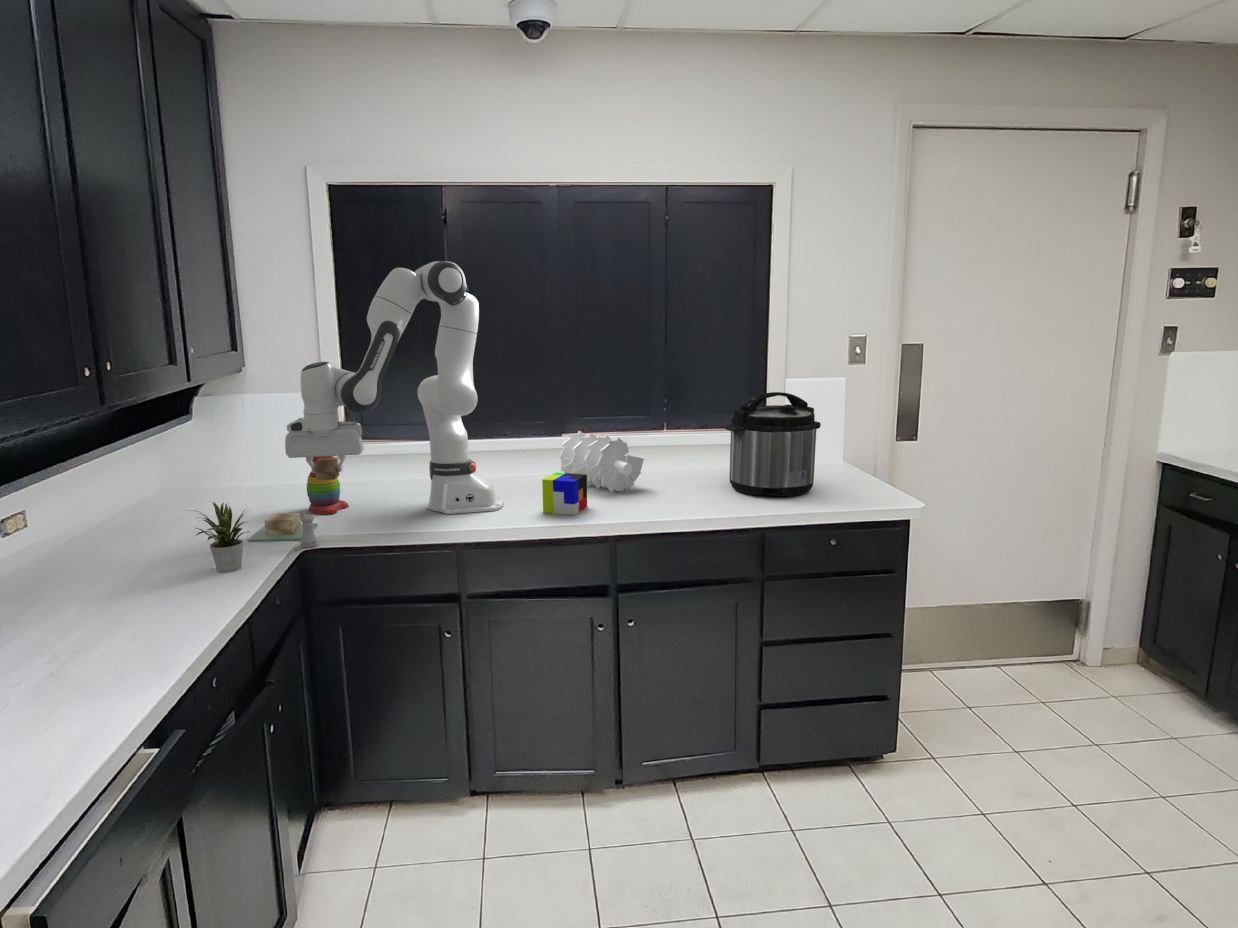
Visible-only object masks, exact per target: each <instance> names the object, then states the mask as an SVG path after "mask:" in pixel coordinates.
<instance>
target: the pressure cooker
mask: <svg viewBox="0 0 1238 928" xmlns="http://www.w3.org/2000/svg"><path fill="white" fill-rule="evenodd" d="M777 396H781V397H786V399H787V401H788V402H789V403H790V404H784V405H781V404H780V405H778V404H777V405H775V404H774V405H760V404H761V403H762V402H763V401H764V400H765V399H769V398H773V397H777ZM808 405H809V404H808V402H807V401H805V399H803V398H801V397H799V396H797V395H795V394H792V393H789V392H783V391H782V392H779V391H773V392H772V391H771V392H765V393H761V394H758V395H755V396H754V397H751V398H749V399H747V400H746V401H744V402H743V403H741V404H740V407H739V409H738V408H737V409H734V411H733V418H732V419H731V424H727V425H725V426H724V429H725V430H726V431H728V432H729V431H730V447H729V448H730V449H729V450H730V451H729V452H730V453H729V476H728V477H729V479H728V480H729V483H730V485H731V487H732V489H734V490H736V491H740V492H742V493H745V494H750V495H755V496H761V495H767V496H771V497H796V496H801V495H804V494H807V493H809V492H810V491H811V489H812V488H813V486H814V479H815V463H816V461H815V460H816V447H817V446H816V441H817V430H818V429H821V428H820V427H821V426H822V425H821V422H820V421H817V420H815V417H816V416H815V408H814V407H811V406H808Z"/></svg>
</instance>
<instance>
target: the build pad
mask: <svg viewBox="0 0 1238 928" xmlns="http://www.w3.org/2000/svg"><path fill="white" fill-rule="evenodd" d="M312 523H313V522H312ZM302 524H303V523H301V527H300V528H299V529H298V530H297V531H296V532H295V533H294V534H293V535H266V532H265V524H264V525H263V526H262V527H261V528H260V529H258V530H257V531H256V532H255V533H254V534H252V535H251V536H250V537H249V538H247V542H248V543H249V542H250V543H253V542H283V541H284V542H286V541H288V542H291V541H300V540H301V538H302V535H303V526H302ZM313 524H314V525H313V531H315V530H314V529H316V528H317V527H318V526H319V525H318V523H317V522H315V523H313Z"/></svg>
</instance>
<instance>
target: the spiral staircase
mask: <svg viewBox="0 0 1238 928" xmlns="http://www.w3.org/2000/svg"><path fill="white" fill-rule="evenodd" d="M561 445H562V450H561V452H560V454H559V457H558V458H559V459H560V460H561V462H560V463H561V464H560V465H561V466H560V472H563V473H572V474H586V475H587V488H589V487H590V486H595V487H596V489H600V487H602V488H604V489H608V490H609V491H610V492H611V493H614V491H618V492H624V491H625V490H627V489H628V488H630V487H632V486H634V485H635V482H636V480H637V479H639V476H640V475H641V473H642V472H641V471H642V467H643V464H644V460H645V459H644V458H642V457H638V456H633V455H629V454H628V453H629V452H630V450H629V447H628V444H627V441H626V440H625V441H624V440H622V439H621V438H620V437H616V439H611V438H610V436H608V434H605V435H604V437H603V436H599V435H594V434H592V433H590V432H589V434H588V433H586V434H585V433H584V432H582V431H581V430H578V431H577V433H569V438H568V439H566V440H565V441H564V442H563V443H561Z"/></svg>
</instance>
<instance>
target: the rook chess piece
mask: <svg viewBox="0 0 1238 928" xmlns="http://www.w3.org/2000/svg"><path fill="white" fill-rule="evenodd" d="M314 520H315V518H314V517H313V515H312V514H309V513H308V514H303V515H301V517H300V522H302V523H301V524H302V526H303V535H302V538H301V540H299V542H300V544H299V546H300V547H301V548H303V549H311V548H315V547H317V546H318V545H319V542H318V537H317V536H316V534H315V532H314V531H315V530H313V525H314V524H313V521H314Z"/></svg>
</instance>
